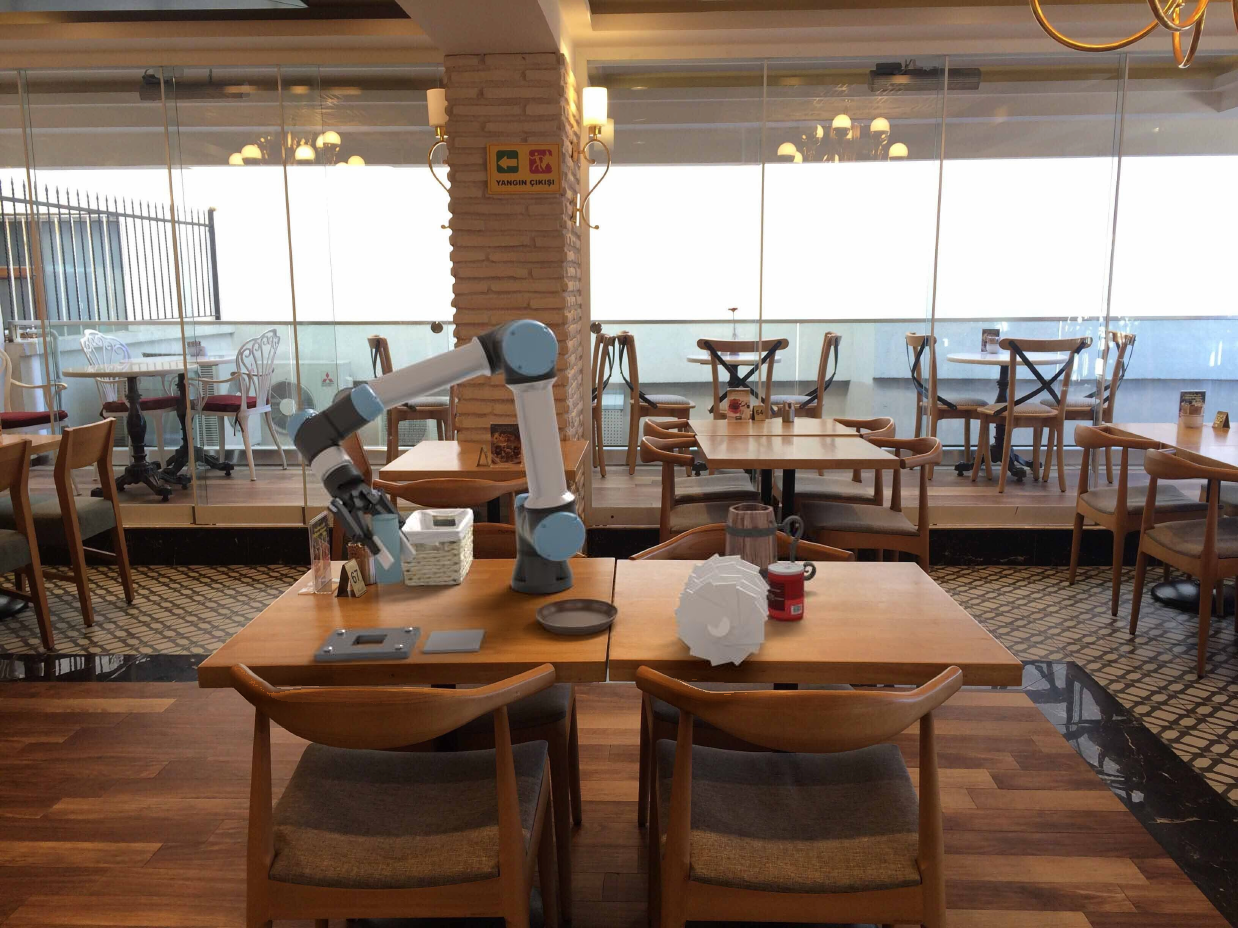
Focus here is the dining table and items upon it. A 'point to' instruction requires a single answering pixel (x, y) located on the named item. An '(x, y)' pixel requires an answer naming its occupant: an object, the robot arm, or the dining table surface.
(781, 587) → the canned food
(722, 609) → the spiral staircase
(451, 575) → the storage basket
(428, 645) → the pad
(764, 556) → the tankard
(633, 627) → the dining table surface
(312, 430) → the robot arm
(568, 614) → the plant saucer
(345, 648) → the flange plate
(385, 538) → the plug
